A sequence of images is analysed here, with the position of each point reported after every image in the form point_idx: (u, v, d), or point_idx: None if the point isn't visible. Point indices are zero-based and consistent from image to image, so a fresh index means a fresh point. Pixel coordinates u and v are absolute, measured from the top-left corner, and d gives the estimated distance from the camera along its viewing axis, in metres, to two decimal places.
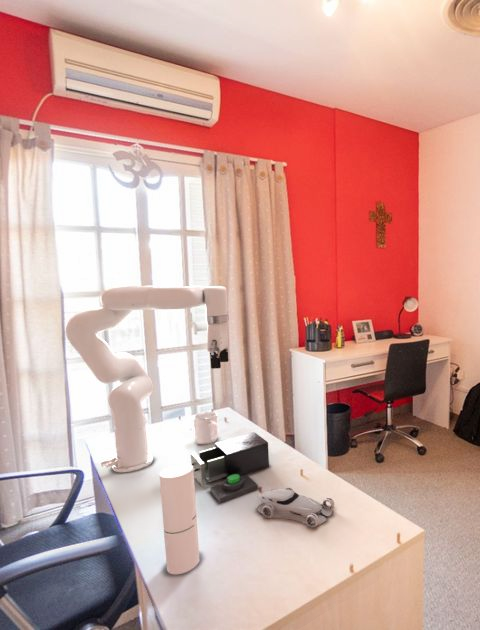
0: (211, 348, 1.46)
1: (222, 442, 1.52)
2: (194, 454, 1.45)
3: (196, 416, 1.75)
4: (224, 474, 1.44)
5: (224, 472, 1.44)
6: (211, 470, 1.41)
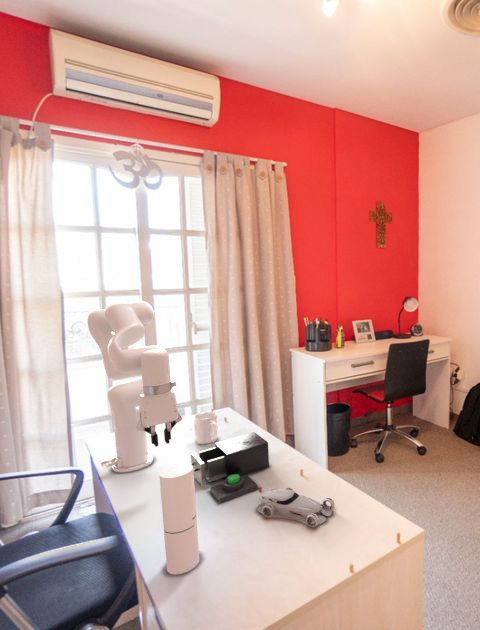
0: (137, 428, 1.29)
1: (222, 442, 1.52)
2: (194, 454, 1.45)
3: (196, 416, 1.75)
4: (224, 474, 1.44)
5: (224, 472, 1.44)
6: (211, 470, 1.41)
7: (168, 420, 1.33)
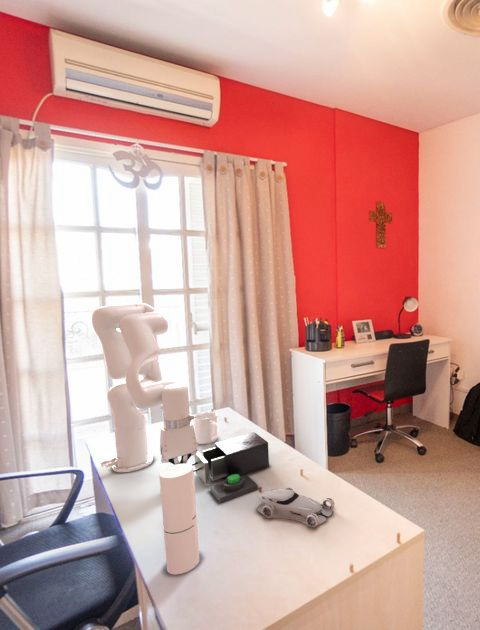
0: (161, 461, 1.35)
1: (222, 442, 1.52)
2: (198, 453, 1.46)
3: (196, 416, 1.75)
4: None
5: None
6: (214, 469, 1.42)
7: (187, 452, 1.38)
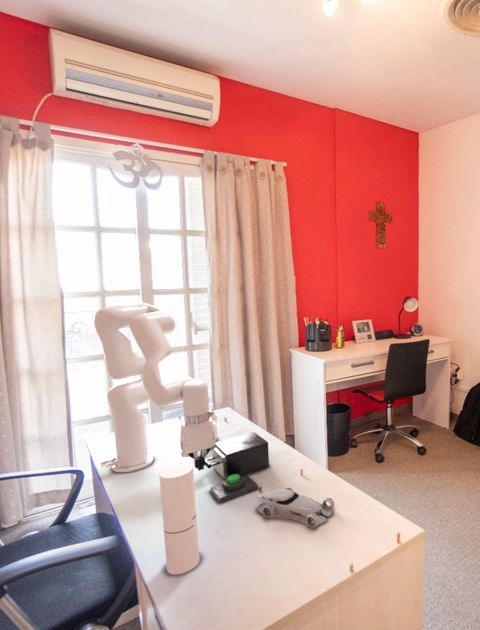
0: (182, 456, 1.39)
1: (222, 442, 1.52)
2: (215, 448, 1.50)
3: None
4: None
5: None
6: None
7: (206, 447, 1.42)
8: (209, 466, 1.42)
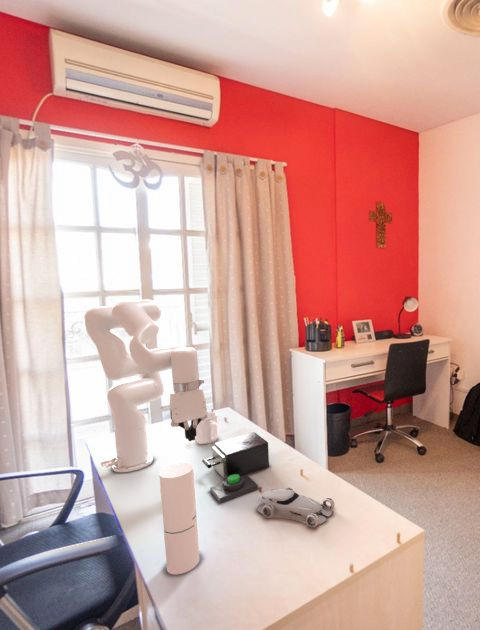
0: (171, 425, 1.33)
1: (222, 442, 1.52)
2: (215, 448, 1.50)
3: None
4: None
5: None
6: None
7: (197, 416, 1.37)
8: (209, 466, 1.42)
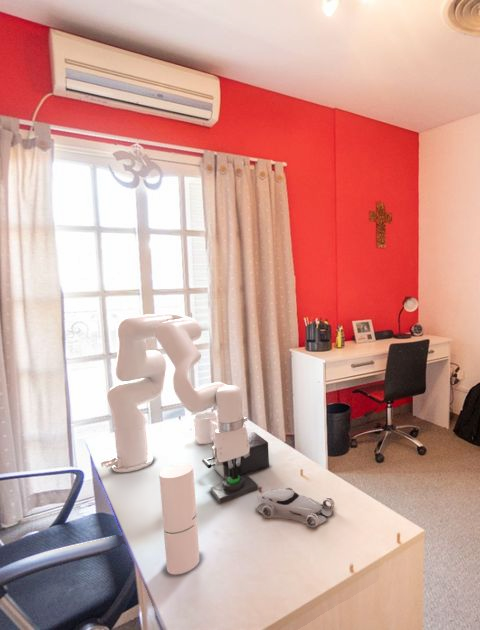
0: (216, 464, 1.33)
1: None
2: None
3: (196, 416, 1.75)
4: None
5: None
6: None
7: (241, 455, 1.36)
8: (209, 466, 1.42)
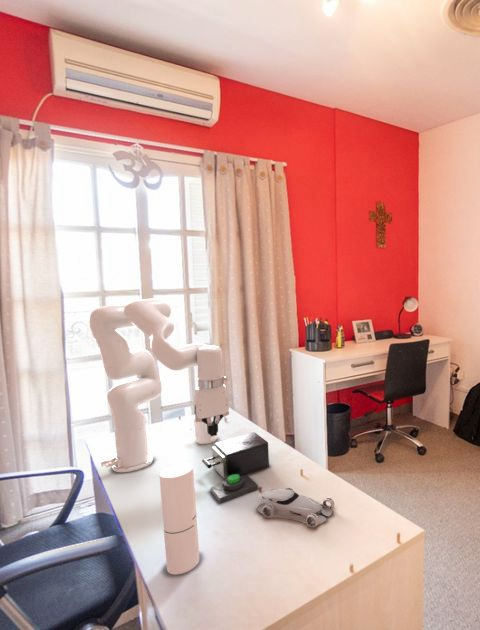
0: None
1: (222, 442, 1.52)
2: (215, 448, 1.50)
3: None
4: None
5: None
6: None
7: (220, 413, 1.41)
8: (209, 466, 1.42)
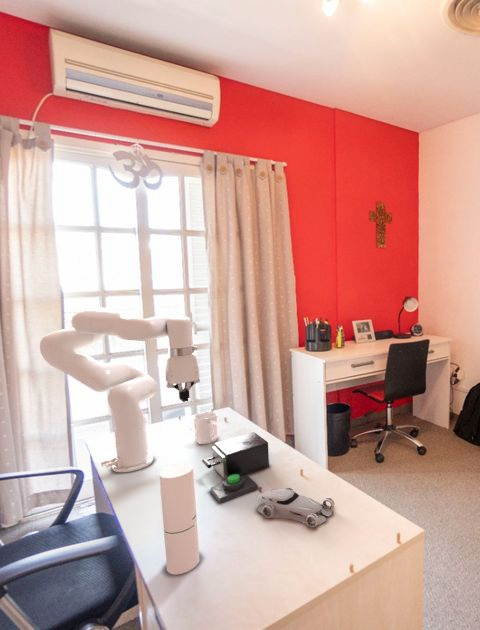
0: (167, 386, 1.47)
1: (222, 442, 1.52)
2: (215, 448, 1.50)
3: (196, 416, 1.75)
4: None
5: None
6: None
7: (190, 379, 1.50)
8: (209, 466, 1.42)
